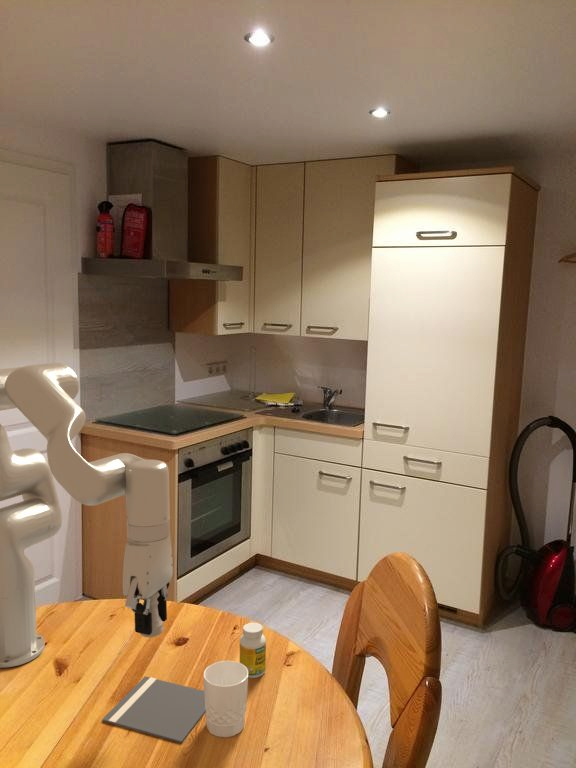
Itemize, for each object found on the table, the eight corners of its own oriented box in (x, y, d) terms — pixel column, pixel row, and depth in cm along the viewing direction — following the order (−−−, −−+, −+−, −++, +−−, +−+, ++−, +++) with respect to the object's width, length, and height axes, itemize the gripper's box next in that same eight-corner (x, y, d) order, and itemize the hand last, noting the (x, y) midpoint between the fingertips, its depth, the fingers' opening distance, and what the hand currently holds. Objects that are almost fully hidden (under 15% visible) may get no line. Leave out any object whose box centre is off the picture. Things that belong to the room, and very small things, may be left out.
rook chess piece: (157, 639, 115) (156, 597, 113) (134, 636, 115) (133, 594, 114) (167, 627, 119) (166, 586, 118) (145, 624, 120) (144, 584, 119)
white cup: (207, 743, 109) (207, 689, 108) (200, 714, 117) (200, 663, 116) (252, 735, 112) (252, 682, 110) (242, 707, 119) (243, 657, 118)
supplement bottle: (248, 661, 134) (248, 618, 133) (270, 668, 132) (271, 624, 131) (234, 674, 130) (234, 629, 128) (256, 682, 127) (257, 636, 126)
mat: (102, 721, 115) (102, 718, 115) (144, 678, 128) (144, 675, 128) (181, 743, 109) (181, 740, 109) (217, 696, 122) (217, 693, 122)
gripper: (155, 513, 124) (157, 602, 126) (102, 543, 108) (106, 645, 110) (190, 517, 121) (191, 609, 124) (140, 549, 106) (143, 653, 108)
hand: (151, 625), depth 117 cm, fingers closed on rook chess piece, 4 cm apart
